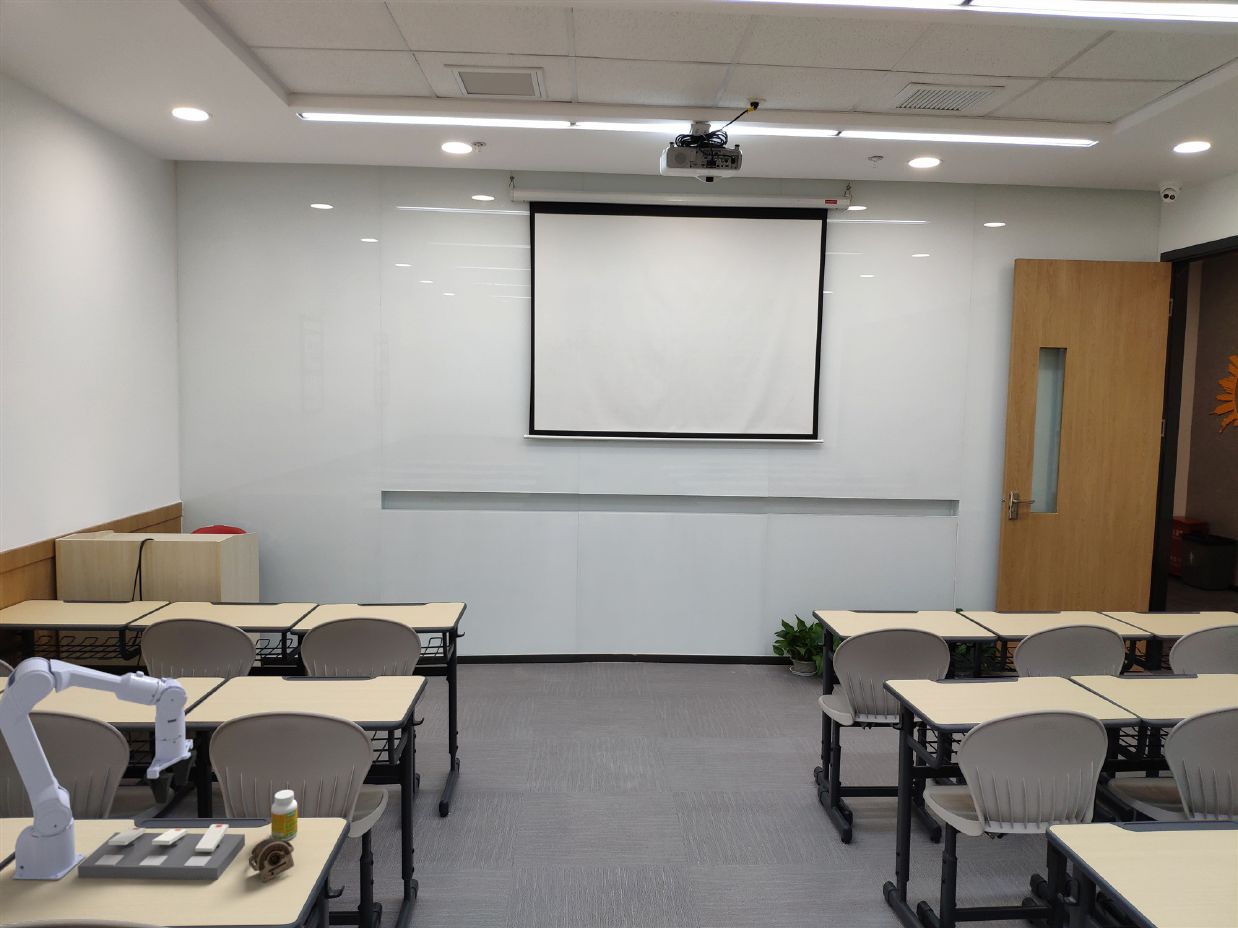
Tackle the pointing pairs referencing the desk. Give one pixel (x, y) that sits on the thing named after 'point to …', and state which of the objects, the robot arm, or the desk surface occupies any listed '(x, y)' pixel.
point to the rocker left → (126, 836)
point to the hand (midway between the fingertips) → (171, 793)
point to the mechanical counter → (271, 857)
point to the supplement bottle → (284, 815)
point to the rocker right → (212, 838)
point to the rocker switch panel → (161, 858)
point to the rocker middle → (169, 836)
